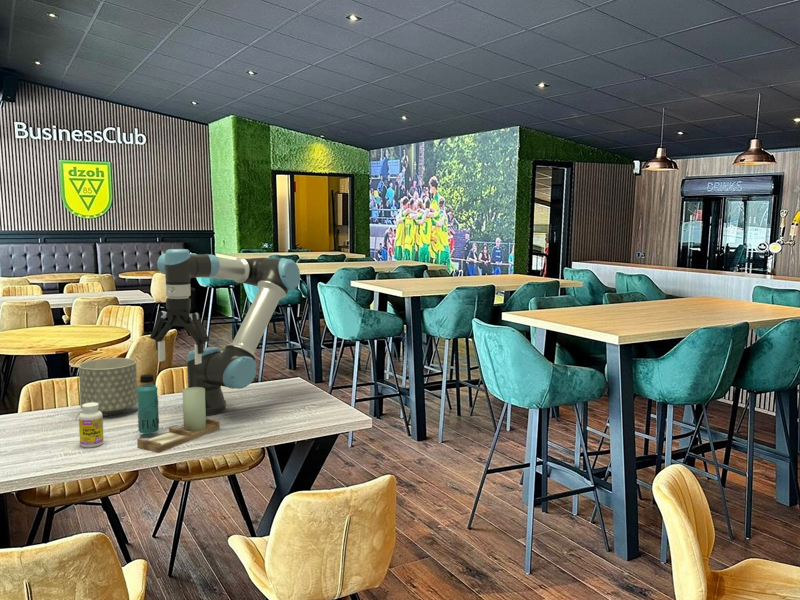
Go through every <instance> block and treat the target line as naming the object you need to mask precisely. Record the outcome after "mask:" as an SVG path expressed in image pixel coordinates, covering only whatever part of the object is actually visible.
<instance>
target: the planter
mask: <svg viewBox="0 0 800 600" xmlns="http://www.w3.org/2000/svg"><path fill="white" fill-rule="evenodd" d="M137 373H138V372H137V361H136V359H133V358H128V357H108V358H97V359H90V360H86V361H83V362H81V363H79V365H78V381H79V383H78V385H79V396H80V397H79V402H80V403H79V404H80V409H81V410H82V405H83V404H85V403H92V402H94V403H98V404H99V408H98V411H101V412H102V415H103V416H112V415H113V414H114V415H118V414H120V413H123V412H124V411H126V410H128V409H129V408H131V407H134V406H136V405H138V396H137V389H138V377H137V375H138V374H137ZM114 415H113V416H114Z"/></svg>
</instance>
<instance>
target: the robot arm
mask: <svg viewBox="0 0 800 600" xmlns="http://www.w3.org/2000/svg"><path fill="white" fill-rule="evenodd" d="M156 263H157V264H156V266H157V270H158V271H159V272H160V273H161V274H162V275H165V296H166V297H167V298H166V299H165V307H166V310H167V311H165V310H161V311H158V313H157V319H156V322H155V325H154V327H153V329H152V331H151V333H150V336H149V338H150V340H153V341H155V350H156V351H157V362H163V361H166V340H164V339H165V337H166V335H167V334H168V333H169V331H170V330H171V329H172V327H184V329H186V330H187V332H188V333H189V335H190V337H192V339H193V340H194V341H195V343H194V349H192V350H190V351H189V352H188V353H187V354H186V355H187V358H186V360H187V361H186V371H187V372H186V373H187V388H190V387H202V388H205V409H206V416H211V415H212V416H213V415H217V414H220V413H222V412H223V413H224V412H225V411H226V410H227V401H226V400H225V397H224V394H223V390H222V387H226V388H228V389H235V390H236V389H237V390H238V389H244V388H247V387H248V386H250V385H251V383H252V382H253V381H254V380H255V377H256V375H257V372H258V371H257V363H256V359H257V357H256V355H255V352H256V350H257V347H258V345H259V344H260V341H261V340H262V337H263V335H264V333H265V331H266V329H267V327H268V324H269V323H270V320H271V319H272V317H273V314H274V312H275V310H276V308H277V306H278V304H279V302H280V300H281V299H285V298H286V297H287V294H288V293H289V290H290V291H292V290H295V289H296V288H297V287H298V286H299V285H300V282H301V280H300V279H301V273H300V269H299V268H300V267H299V265H298V264H297V262H296V261H294V260H293V259H291V258H286V257H281V258H276V257H275V258H273V257H251V258H242V257H238V258H237V259H229V258H218V257H217V256H216V255H214V254H210V253H209V254H208V253H206V254H197V253H196V254H195V253H193V254H192V253H190V250H189V249H187V248H186V249H185V248H178V249H177V248H174V249H173V248H170V249H167V250H165V253H163V254H160V256H159V257H158V259H157V262H156ZM193 278H205V279H206V278H208V279H216V280H217V279H219V280H230V281H231V280H232V281H234V282H235V283H237V284H245V285H248V286H249V285H250V286H254V287H258V291H257V293H256V294H255V297H254V299H253V300H252V303H251V304H250V307H249V309H248V311H247V313H246V315H245V316H244V319H243V321H241V325H240V326H239V329H238V330H237V332H236V334H235V337H234V339H233V341H232V342H231V343H228V344H226V345H225V347H224V349H223V351H222V352H221V349H220V347H218V346H211V347H204V344H205V343H208V342H209V341H210V338H209V336H208V334H207V332H206V329H205V327H204V325H203V323H202V321H201V318H200V317H201V315H200V313H199V312H194V313H191V309H192V307H191V306H192V304H191V302H192V299H191V297H190V296H191V295H192V294H191V293H192V292H191V291H192V290H191V279H193ZM166 318H167V321H166ZM191 320H192V321H191ZM165 321H166V322H165ZM164 323H165V324H164ZM163 325H164V326H163Z"/></svg>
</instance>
